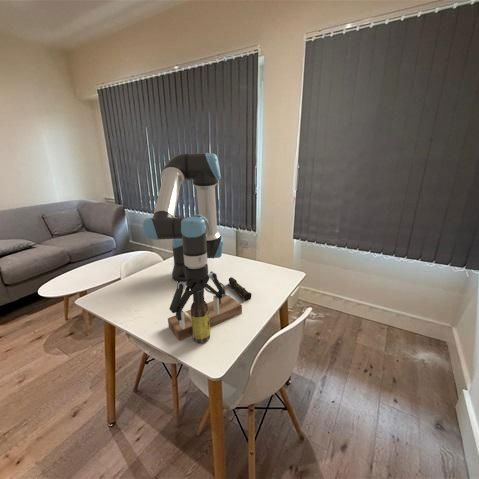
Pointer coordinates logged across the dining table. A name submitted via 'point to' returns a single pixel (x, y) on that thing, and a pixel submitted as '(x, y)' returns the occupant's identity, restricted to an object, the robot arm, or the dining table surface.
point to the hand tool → (239, 289)
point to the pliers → (222, 294)
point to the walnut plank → (226, 310)
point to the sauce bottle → (200, 318)
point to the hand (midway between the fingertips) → (200, 319)
